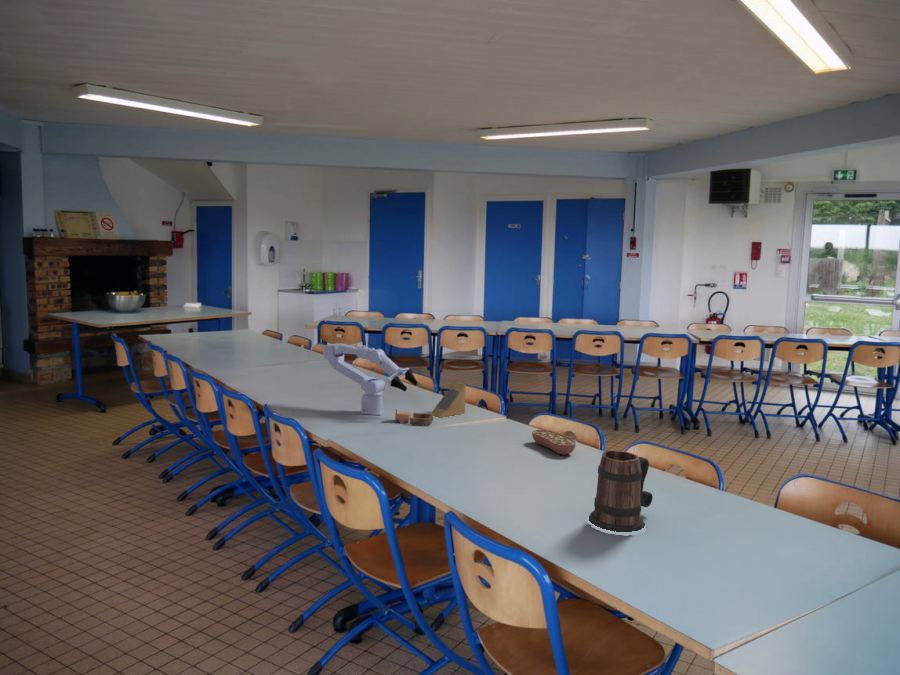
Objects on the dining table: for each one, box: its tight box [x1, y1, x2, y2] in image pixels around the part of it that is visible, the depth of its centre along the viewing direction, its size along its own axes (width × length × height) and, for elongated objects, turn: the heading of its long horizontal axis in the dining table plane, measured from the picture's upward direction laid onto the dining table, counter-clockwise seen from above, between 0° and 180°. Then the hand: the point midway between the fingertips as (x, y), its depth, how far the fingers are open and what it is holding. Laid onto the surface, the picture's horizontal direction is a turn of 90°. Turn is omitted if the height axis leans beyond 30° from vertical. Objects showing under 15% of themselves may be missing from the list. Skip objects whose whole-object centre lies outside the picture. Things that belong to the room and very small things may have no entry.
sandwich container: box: [429, 380, 467, 419], centre depth 303 cm, size 9×15×15 cm, turn 128°
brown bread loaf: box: [531, 429, 576, 456], centre depth 253 cm, size 23×10×5 cm, turn 25°
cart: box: [394, 406, 412, 424], centre depth 289 cm, size 6×6×6 cm
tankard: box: [588, 450, 653, 532], centre depth 184 cm, size 24×17×20 cm
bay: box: [409, 412, 434, 426], centre depth 288 cm, size 9×10×3 cm
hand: (411, 386), depth 292 cm, fingers open, 7 cm apart
